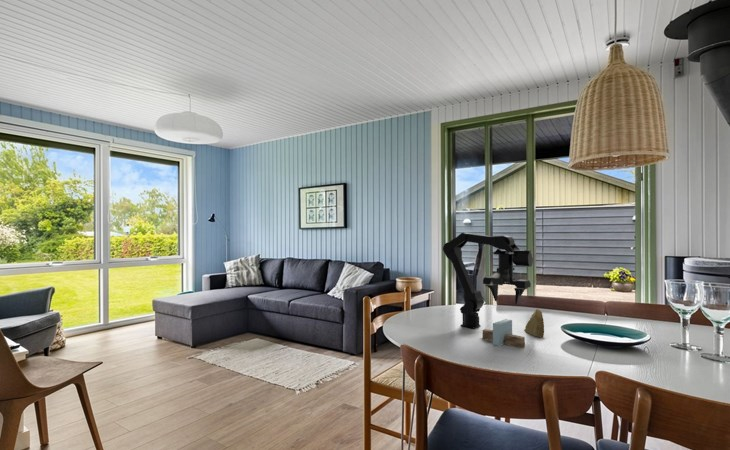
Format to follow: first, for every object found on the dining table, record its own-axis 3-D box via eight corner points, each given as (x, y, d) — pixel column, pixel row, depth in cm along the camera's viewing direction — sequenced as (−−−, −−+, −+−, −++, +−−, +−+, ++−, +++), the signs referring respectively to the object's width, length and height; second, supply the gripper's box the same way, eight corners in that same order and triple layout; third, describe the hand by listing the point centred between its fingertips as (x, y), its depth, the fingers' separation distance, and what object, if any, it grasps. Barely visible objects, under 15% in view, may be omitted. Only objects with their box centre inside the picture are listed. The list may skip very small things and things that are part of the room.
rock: (551, 333, 152) (552, 324, 161) (536, 315, 154) (538, 307, 162) (527, 346, 157) (530, 336, 166) (513, 328, 159) (517, 320, 167)
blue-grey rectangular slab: (499, 345, 144) (498, 324, 144) (493, 344, 146) (492, 323, 146) (512, 340, 151) (512, 320, 151) (506, 339, 153) (506, 318, 153)
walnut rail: (482, 338, 154) (482, 329, 154) (485, 337, 155) (485, 328, 155) (521, 347, 142) (521, 338, 142) (524, 346, 143) (524, 337, 143)
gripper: (475, 265, 164) (475, 302, 164) (517, 268, 150) (518, 308, 150) (489, 263, 171) (489, 298, 171) (531, 266, 158) (531, 304, 158)
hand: (506, 302), depth 162 cm, fingers open, 9 cm apart
